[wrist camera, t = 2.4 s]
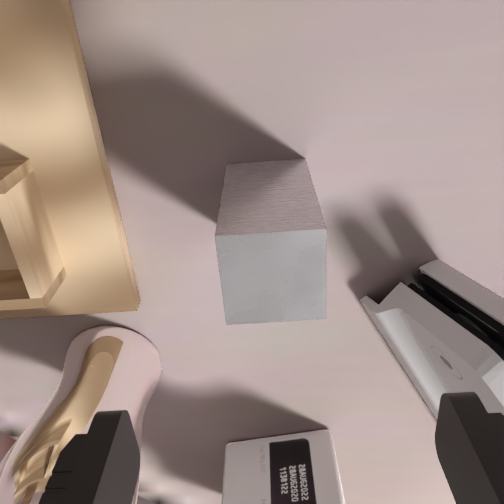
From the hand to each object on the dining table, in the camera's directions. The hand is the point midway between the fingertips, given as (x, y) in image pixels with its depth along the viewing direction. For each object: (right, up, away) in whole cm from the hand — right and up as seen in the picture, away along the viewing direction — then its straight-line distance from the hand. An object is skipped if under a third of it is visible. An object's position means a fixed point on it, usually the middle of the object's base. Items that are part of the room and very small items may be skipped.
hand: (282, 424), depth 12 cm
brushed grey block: (0, +7, +13) cm, 15 cm away
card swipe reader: (+13, -2, +18) cm, 23 cm away
